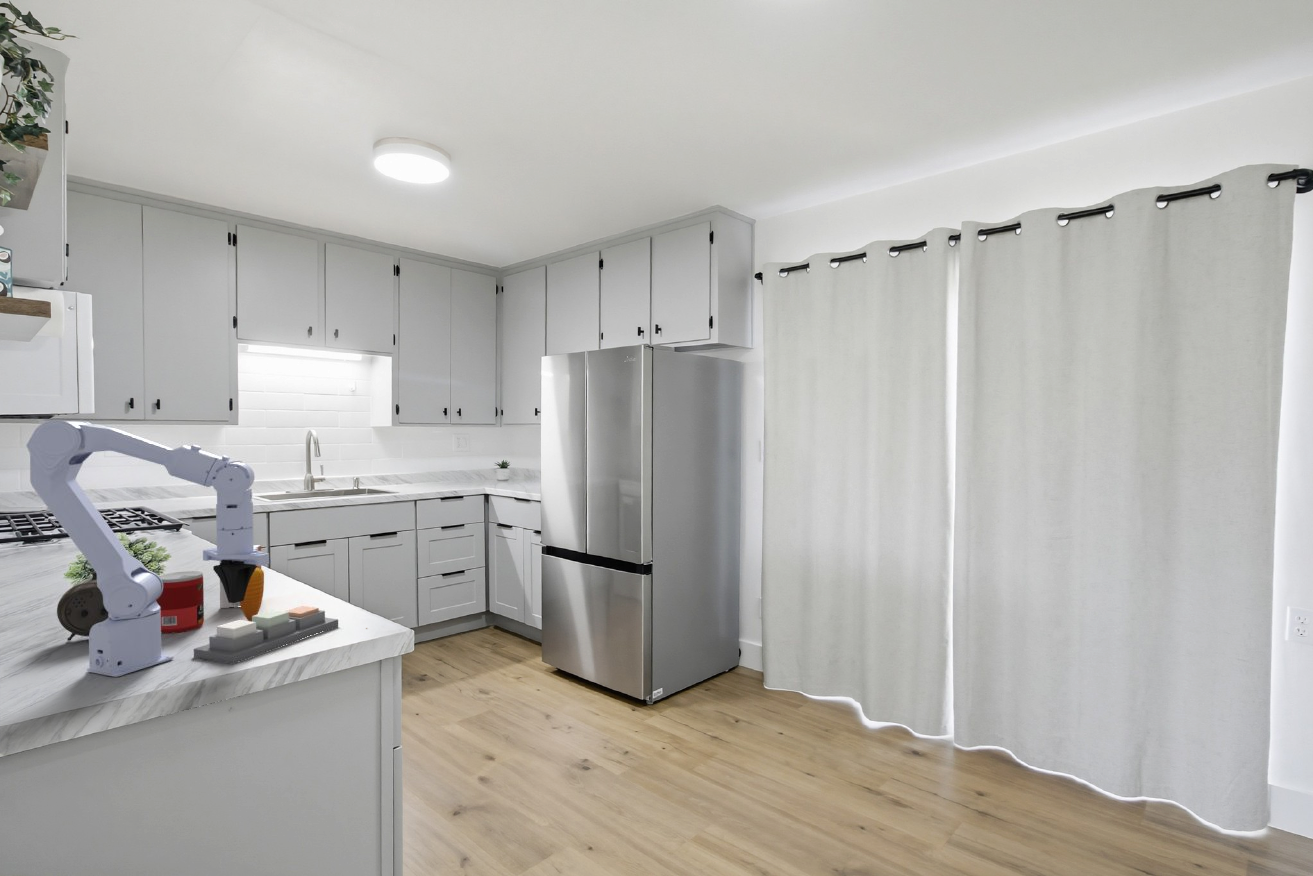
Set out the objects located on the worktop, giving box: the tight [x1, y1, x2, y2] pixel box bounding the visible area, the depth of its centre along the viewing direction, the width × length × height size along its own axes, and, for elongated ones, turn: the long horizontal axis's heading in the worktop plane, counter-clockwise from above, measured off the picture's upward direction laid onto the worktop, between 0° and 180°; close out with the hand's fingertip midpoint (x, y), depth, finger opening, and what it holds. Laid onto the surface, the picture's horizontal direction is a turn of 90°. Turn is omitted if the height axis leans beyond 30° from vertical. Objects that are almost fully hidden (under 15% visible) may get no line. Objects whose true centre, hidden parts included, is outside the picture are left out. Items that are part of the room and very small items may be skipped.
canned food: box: [156, 570, 205, 634], centre depth 138 cm, size 8×8×11 cm
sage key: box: [252, 609, 289, 628], centre depth 130 cm, size 4×4×2 cm
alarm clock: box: [56, 559, 109, 641], centre depth 131 cm, size 11×5×16 cm, turn 114°
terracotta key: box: [283, 605, 320, 618], centre depth 136 cm, size 4×4×2 cm
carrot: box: [240, 568, 265, 622], centre depth 142 cm, size 5×5×15 cm
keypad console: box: [193, 609, 339, 665], centre depth 130 cm, size 23×10×4 cm, turn 159°
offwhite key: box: [216, 619, 256, 639], centre depth 123 cm, size 4×4×2 cm
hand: (236, 601), depth 123 cm, fingers closed
